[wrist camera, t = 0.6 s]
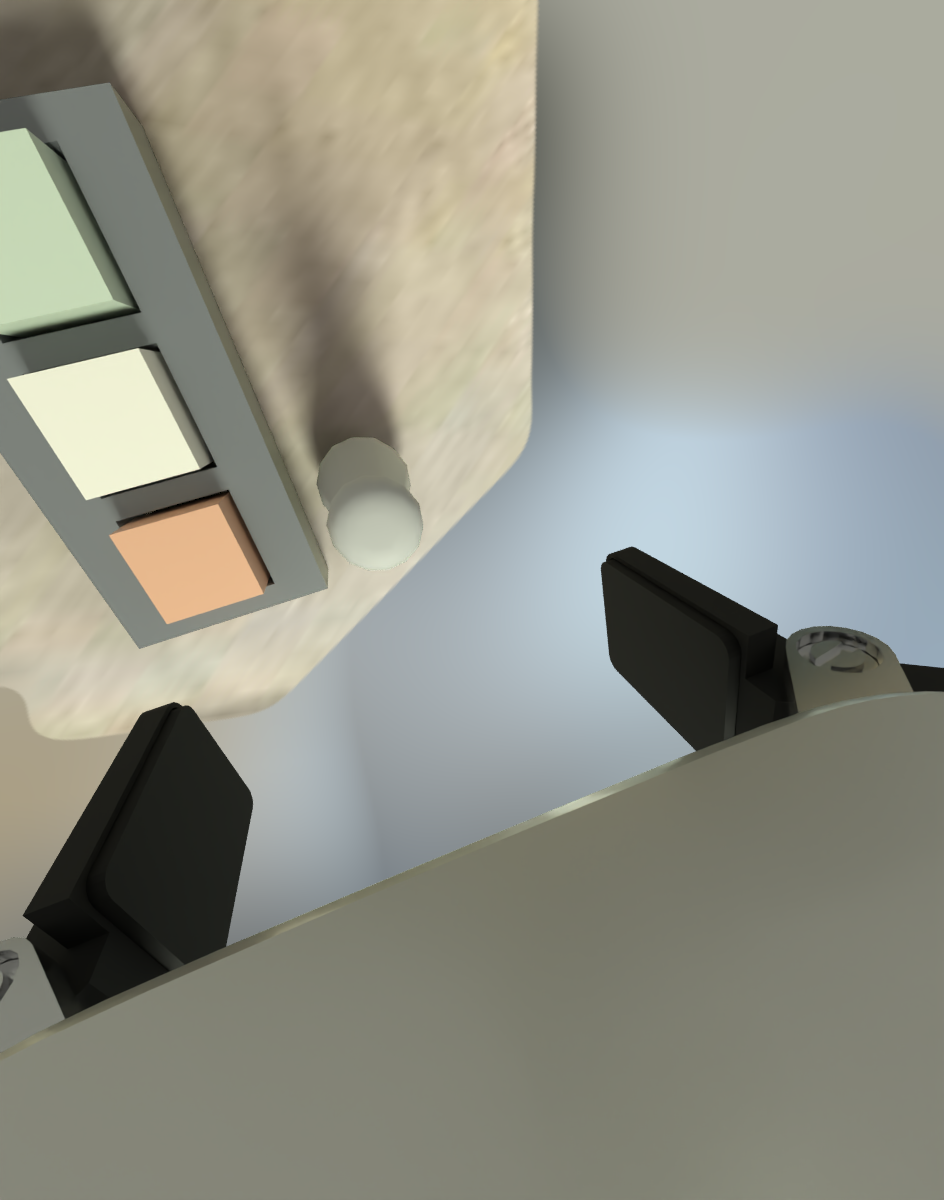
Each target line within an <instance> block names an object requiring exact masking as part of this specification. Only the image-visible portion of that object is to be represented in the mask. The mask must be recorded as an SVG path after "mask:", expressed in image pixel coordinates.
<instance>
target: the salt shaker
mask: <svg viewBox="0 0 944 1200" xmlns="http://www.w3.org/2000/svg"><path fill="white" fill-rule="evenodd" d="M410 486H411V485H410V480H409V475H408V470H407V465H406V464H405V462H404V461H403V460H402V459H401V457H400V456H399V455H398V454H397V452H396V451H395V450H394V449H393V448H392V447H390V446H388V445H387V444H385V443H383V442H381V441H379V440H378V439H376V438H368V437H352V438H349V439H347V440H345V441H343V442H340V443H338V444H336V445H334V446H332V448H331V449H330V450H329V452H328V453H327V454H326V456H325V457H324V459H323V460H322V461H321V463H320V467H319V473H318V479H317V487H318V490H319V493H320V496H321V499H322V502H323V505H324V506H325V507H326V508H327V509H328V510H329V514H328V520H327V528H328V531H329V534H330V537H331V540H332V543H333V545H334V547H335V548H336V549H337V550H338V552H339V553H340V554H341V555H342V556H343V557H344V558H345V559H346V560H347V561H348V562H349V563H350V564H353V565H355V566H358V567H360V568H363V569H366V570H368V571H372V570H390V569H392V568H394V567H396V566H398V565H400V564H402V563H404V562H406V561H407V560H408V558H409V557H410V556H411V555H412V554H413V553H414V551H415V550H416V549H417V548H418V547H419V543H420V539H421V534H422V530H423V521H422V516H421V511H420V506H419V503H418V502H417V501H416V499H415V498H414V497H413V496H412V494H411V493H410V492H409V490H410Z"/></svg>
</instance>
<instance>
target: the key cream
mask: <svg viewBox="0 0 944 1200" xmlns="http://www.w3.org/2000/svg"><path fill="white" fill-rule="evenodd" d="M7 380H8V382H9V383H10V385H11V386H12V388H13V389H14V391H15V392H16V394H17V395H18V397H19V399H20V400H21V402H22V403H23V405H24V406H25V408H26V409H27V411H28V412H29V414H30V415H31V417H32V418H33V420H34V422H35V423H36V425H37V426H38V428H39V429H40V431H41V432H42V434H43V435H44V437H45V438H46V440H47V441H48V443H49V444H50V446H51V448H52V449H53V451H54V452H55V454H56V455H57V457H58V458H59V460H60V461H61V463H62V464H63V466H64V467H65V469H66V471H67V472H68V474H69V475H70V477H71V478H72V480H73V481H74V483H75V484H76V486H77V487H78V489H79V490H80V492H81V493H82V495H83V497H84V498H85V500H89V499H93V498H96V497H100V496H104V495H107V494H111V493H114V492H118V491H122V490H125V489H129V488H133V487H136V486H140V485H144V484H147V483H151V482H155V481H158V480H162V479H166V478H169V477H173V476H177V475H180V474H184V473H187V472H191V471H195V470H198V469H201V468H203V467H204V466H206V465H207V464H209V463H211V462H212V461H214V459H213V457H212V455H211V453H210V451H209V449H208V447H207V445H206V443H205V441H204V439H203V437H202V435H201V433H200V431H199V429H198V426H197V424H196V422H195V420H194V418H193V416H192V414H191V412H190V410H189V408H188V406H187V404H186V402H185V400H184V398H183V396H182V394H181V392H180V390H179V388H178V386H177V384H176V382H175V380H174V378H173V376H172V374H171V372H170V370H169V367H168V365H167V363H166V361H165V359H164V357H163V355H162V353H161V352H156V351H151V350H145V349H140V348H137V349H132V350H128V351H124V352H120V353H115V354H111V355H107V356H103V357H98V358H94V359H90V360H86V361H81V362H77V363H73V364H68V365H64V366H60V367H56V368H51V369H47V370H43V371H39V372H34V373H30V374H26V375H22V376H17V377H13V378H9V379H7Z"/></svg>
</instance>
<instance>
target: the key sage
mask: <svg viewBox="0 0 944 1200" xmlns="http://www.w3.org/2000/svg"><path fill="white" fill-rule="evenodd" d="M139 312H141V311H140V308H139V306H138V304H137V302H136V300H135V298H134V296H133V294H132V292H131V290H130V288H129V286H128V284H127V282H126V280H125V278H124V276H123V274H122V272H121V270H120V268H119V266H118V264H117V262H116V260H115V258H114V256H113V254H112V252H111V249H110V247H109V245H108V243H107V241H106V239H105V237H104V235H103V233H102V231H101V229H100V227H99V225H98V223H97V221H96V219H95V217H94V215H93V213H92V211H91V209H90V207H89V205H88V203H87V201H86V199H85V197H84V195H83V193H82V191H81V188H80V186H79V184H78V182H77V180H76V178H75V176H74V174H73V172H72V170H71V168H70V166H69V164H68V163H67V162H66V161H65V160H64V159H62V158H61V157H60V156H59V155H58V154H56V153H55V152H54V151H53V150H52V149H50V148H49V147H48V146H47V145H46V144H44V143H43V142H42V141H41V140H40V139H38V138H37V137H36V136H35V135H34V134H32V133H31V132H30V131H29V130H28V129H26V128H22V129H16V130H10V131H4V132H0V334H3V335H9V336H16V337H22V338H28V337H32V336H37V335H41V334H46V333H50V332H55V331H59V330H64V329H68V328H73V327H77V326H81V325H86V324H90V323H95V322H99V321H104V320H108V319H113V318H117V317H122V316H126V315H130V314H135V313H139Z"/></svg>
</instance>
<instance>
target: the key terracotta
mask: <svg viewBox="0 0 944 1200" xmlns="http://www.w3.org/2000/svg"><path fill="white" fill-rule="evenodd" d="M109 536H110V538H111V539H112V541H113V543H114V544H115V546H116V547H117V549H118V550H119V552H120V553H121V555H122V556H123V558H124V559H125V561H126V562H127V564H128V565H129V567H130V569H131V570H132V572H133V573H134V575H135V576H136V578H137V579H138V581H139V582H140V584H141V585H142V587H143V588H144V590H145V592H146V593H147V595H148V596H149V598H150V599H151V601H152V602H153V604H154V605H155V607H156V608H157V610H158V611H159V613H160V614H161V616H162V618H163V619H164V621H165V622H166V624H170V623H173V622H176V621H179V620H182V619H186V618H189V617H192V616H195V615H198V614H201V613H205V612H208V611H211V610H214V609H217V608H220V607H224V606H227V605H230V604H233V603H236V602H239V601H242V600H246V599H249V598H252V597H255V596H258V595H261V594H264V592H265V589H266V586H267V583H268V580H269V577H270V573H269V571H268V569H267V567H266V565H265V563H264V561H263V559H262V557H261V555H260V553H259V551H258V549H257V546H256V544H255V542H254V540H253V538H252V536H251V534H250V532H249V530H248V528H247V526H246V524H245V522H244V520H243V518H242V516H241V514H240V512H239V510H238V508H237V506H236V504H235V502H234V500H233V498H232V496H231V494H230V492H229V491H228V492H224V493H221V494H217V495H214V496H210V497H207V498H203V499H200V500H196V501H193V502H189V503H185V504H182V505H178V506H175V507H171V508H168V509H164V510H161V511H157V512H154V513H150V514H147V515H143V516H140V517H136V518H134V519H133V520H131V521H130V522H128V523H127V524H125V525H124V526H122V527H121V528H119V529H118V530H116V531H114V532H113V533H111V534H110V535H109Z"/></svg>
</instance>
